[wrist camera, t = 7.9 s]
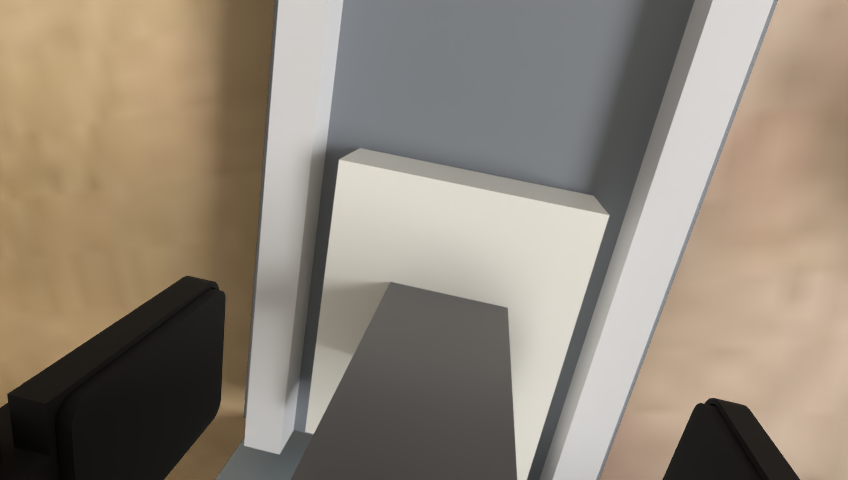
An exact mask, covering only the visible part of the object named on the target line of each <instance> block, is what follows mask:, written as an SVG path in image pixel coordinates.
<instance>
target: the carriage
mask: <svg viewBox="0 0 848 480" xmlns="http://www.w3.org/2000/svg"><path fill="white" fill-rule="evenodd" d="M609 216H610V215H609V214H608V213H607V212H606V210H605V209H604V208H603V207H602V205H601V204H600V203H599V202H598V200H597V199H596V198H595V197H594V196H593V195H588V194H583V193H578V192H573V191H568V190H563V189H559V188H554V187H549V186H544V185H539V184H534V183H529V182H524V181H519V180H514V179H510V178H505V177H500V176H495V175H490V174H485V173H480V172H475V171H470V170H465V169H461V168H456V167H451V166H446V165H441V164H436V163H431V162H426V161H421V160H417V159H412V158H407V157H402V156H397V155H392V154H387V153H382V152H377V151H372V150H368V149H363V148H359V149H357V150H356V151H354V152H352V153H350V154H348V155H346V156H345V157H343V158H341V159H339V164H338V172H337V180H336V188H335V196H334V204H333V212H332V220H331V228H330V236H329V244H328V252H327V260H326V268H325V276H324V284H323V292H322V300H321V308H320V316H319V324H318V332H317V340H316V348H315V356H314V364H313V372H312V380H311V388H310V396H309V404H308V412H307V420H306V428H305V432H307V433H311V434H313V436H312V438H311V440H310V442H309V444H308V446H307V448H306V450H305V452H304V454H303V456H302V458H301V460H300V462H299V464H298V466H297V468H296V470H295V472H294V474H293V476H292V478H291V480H527V477H528V474H529V471H530V468H531V465H532V461H533V458H534V455H535V452H536V449H537V445H538V442H539V439H540V436H541V433H542V429H543V426H544V423H545V420H546V417H547V414H548V410H549V407H550V404H551V401H552V398H553V394H554V391H555V388H556V385H557V382H558V378H559V375H560V372H561V369H562V366H563V362H564V359H565V356H566V353H567V350H568V346H569V343H570V340H571V337H572V334H573V330H574V327H575V324H576V321H577V318H578V315H579V311H580V308H581V305H582V302H583V299H584V295H585V292H586V289H587V286H588V283H589V279H590V276H591V273H592V270H593V267H594V263H595V260H596V257H597V254H598V251H599V247H600V244H601V241H602V238H603V235H604V232H605V228H606V225H607V222H608V219H609Z"/></svg>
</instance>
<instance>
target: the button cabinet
mask: <svg viewBox="0 0 848 480" xmlns="http://www.w3.org/2000/svg"><path fill="white" fill-rule="evenodd" d="M312 436H313V435H312V434H308V433H304V432H300V431H296V430H293V432H292V434H291V435H290V437H289V439H288V441H287V443H286V444H285V446H284V448H283V450H282V451H281V453H280V455H279V454H275V453H271V452H267V451H263V450H259V449H255V448H251V447H247V446H244V440H245V437H244V439H243V440H242V441H241V443H240V444H239V446H238V447H237V449H236V450H235V452H234V453H233V455H232V456H231V457H230V459H229V460H228V462H227V463H226V465H225V466H224V468H223V469H222V470H221V472H220V473H219V475H218V476H217V478H216V479H215V480H291V478H292V476H293V474H294V472H295V470H296V468H297V466H298V464H299V462H300V460H301V458H302V456H303V454H304V452H305V450H306V448H307V446H308V444H309V442H310V440H311V438H312Z"/></svg>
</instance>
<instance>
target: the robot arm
mask: <svg viewBox="0 0 848 480" xmlns="http://www.w3.org/2000/svg"><path fill="white" fill-rule="evenodd" d="M224 320H225V293H224V292H223V291H220V290H219V287H218V284H217V283H216V282H213V281H208V280H204V279H200V278H196V277H191V276H186V277H183V278H182V279H180V280H179V281H177V282H176V283H174V284H173V285H171V286H170V287H168V288H167V289H165V290H164V291H162V292H161V293H159V294H158V295H156V296H155V297H153V298H152V299H150V300H149V301H147V302H146V303H144V304H143V305H141V306H140V307H138V308H137V309H135V310H134V311H132V312H131V313H129V314H128V315H126V316H125V317H123V318H122V319H120V320H119V321H117V322H115V323H114V324H112V325H111V326H109V327H108V328H106V329H105V330H103V331H102V332H100V333H99V334H97V335H96V336H94V337H93V338H91V339H90V340H88V341H87V342H85V343H84V344H82V345H81V346H79V347H78V348H76V349H75V350H73V351H72V352H70V353H69V354H67V355H66V356H64V357H63V358H61V359H60V360H58V361H57V362H55V363H54V364H52V365H51V366H49V367H48V368H46V369H45V370H43V371H42V372H40V373H39V374H37V375H36V376H34V377H32V378H31V379H29V380H28V381H26V382H25V383H23V384H22V385H20V386H19V387H17V388H16V389H14V390H13V391H11V392H10V393H8V394H7V395H8V403H7V404H5V405H4V406H2V407H1V408H0V480H164V479H165V478H166V476H167V475H168V474H169V473H170V472H171V470H172V469H173V468H174V467H175V465H176V464H177V463H178V462H179V461H180V459H181V458H182V457H183V456H184V454H185V453H186V452H187V451H188V450H189V448H190V447H191V446H192V445H193V444H194V442H195V441H196V440H197V439H198V437H199V436H200V435H201V434H202V433H203V431H204V430H205V429H206V428H207V426H208V425H209V424H210V423H211V422H212V420H213V419H214V417H215V416H216V414H217V412H218V409H219V406H220V401H221V384H222V363H223V342H224ZM663 480H800V479H799V478H798V476H797V475H796V473H795V472H794V471H793V469H792V468H791V466H790V465H789V464H788V462H787V461H786V459H785V458H784V457H783V455H782V454H781V453H780V451H779V450H778V448H777V447H776V446H775V444H774V443H773V441H772V440H771V439H770V437H769V436H768V434H767V433H766V432H765V430H764V429H763V427H762V426H761V425H760V423H759V422H758V421H757V419H756V418H755V416H754V415H753V414H752V412H751V411H750V409H749V408H747V407H746V406H745V405H741V404H737V403H733V402H728V401H724V400H720V399H716V398H710V399H708V400H707V401H706V402H705V404H703V403H699V404H697V405H696V406H695V408H694V410H693V412H692V414H691V416H690V419H689V421H688V423H687V425H686V428H685V430H684V432H683V435H682V437H681V439H680V441H679V444H678V446H677V448H676V450H675V453H674V455H673V457H672V460H671V462H670V464H669V466H668V469H667V471H666V473H665V476H664V478H663Z"/></svg>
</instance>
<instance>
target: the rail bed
mask: <svg viewBox="0 0 848 480" xmlns="http://www.w3.org/2000/svg"><path fill="white" fill-rule="evenodd" d="M777 1H778V0H275V8H274V21H273V35H272V48H271V61H270V74H269V88H268V101H267V114H266V128H265V141H264V154H263V167H262V181H261V194H260V207H259V221H258V234H257V247H256V260H255V274H254V287H253V300H252V313H251V327H250V340H249V353H248V367H247V380H246V393H245V406H244V418H246V427H245V440H244V446H247V447H251V448H255V449H259V450H263V451H267V452H271V453H275V454H279V455H280V453H281V451H282V450H283V448H284V446H285V444H286V443H287V441H288V439H289V437H290V435H291V434H292V432H293V430H296V431H300V432H304V433H307V432H305V428H306V420H307V412H308V404H309V396H310V388H311V380H312V372H313V364H314V356H315V348H316V340H317V332H318V324H319V316H320V308H321V300H322V292H323V284H324V276H325V268H326V260H327V252H328V244H329V236H330V228H331V220H332V212H333V204H334V196H335V188H336V180H337V172H338V164H339V159H341V158H343V157H345V156H346V155H348V154H350V153H352V152H354V151H356V150H357V149H359V148H363V149H368V150H372V151H377V152H382V153H387V154H392V155H397V156H402V157H407V158H412V159H417V160H421V161H426V162H431V163H436V164H441V165H446V166H451V167H456V168H461V169H465V170H470V171H475V172H480V173H485V174H490V175H495V176H500V177H505V178H510V179H514V180H519V181H524V182H529V183H534V184H539V185H544V186H549V187H554V188H559V189H563V190H568V191H573V192H578V193H583V194H588V195H593V196H594V197H595V198H596V199H597V200H598V202H599V203H600V204H601V205H602V207H603V208H604V209H605V210H606V212H607V213H608V214H609V215H610V216H609V219H608V222H607V225H606V228H605V232H604V235H603V238H602V241H601V244H600V247H599V251H598V254H597V257H596V260H595V263H594V267H593V270H592V273H591V276H590V279H589V283H588V286H587V289H586V292H585V295H584V299H583V302H582V305H581V308H580V311H579V315H578V318H577V321H576V324H575V327H574V330H573V334H572V337H571V340H570V343H569V346H568V350H567V353H566V356H565V359H564V362H563V366H562V369H561V372H560V375H559V378H558V382H557V385H556V388H555V391H554V394H553V398H552V401H551V404H550V407H549V410H548V414H547V417H546V420H545V423H544V426H543V429H542V433H541V436H540V439H539V442H538V445H537V449H536V452H535V455H534V458H533V461H532V465H531V468H530V471H529V474H528V477H527V480H599V479H600V476H601V473H602V471H603V468H604V465H605V462H606V460H607V457H608V454H609V452H610V449H611V446H612V444H613V441H614V438H615V436H616V433H617V430H618V428H619V425H620V422H621V420H622V417H623V414H624V412H625V409H626V406H627V403H628V401H629V398H630V395H631V393H632V390H633V387H634V385H635V382H636V379H637V377H638V374H639V371H640V369H641V366H642V363H643V361H644V358H645V355H646V353H647V350H648V347H649V344H650V342H651V339H652V336H653V334H654V331H655V328H656V326H657V323H658V320H659V318H660V315H661V312H662V310H663V307H664V304H665V302H666V299H667V296H668V294H669V291H670V288H671V285H672V283H673V280H674V277H675V275H676V272H677V269H678V267H679V264H680V261H681V259H682V256H683V253H684V251H685V248H686V245H687V243H688V240H689V237H690V235H691V232H692V229H693V226H694V224H695V221H696V218H697V216H698V213H699V210H700V208H701V205H702V202H703V200H704V197H705V194H706V192H707V189H708V186H709V184H710V181H711V178H712V176H713V173H714V170H715V167H716V165H717V162H718V159H719V157H720V154H721V151H722V149H723V146H724V143H725V141H726V138H727V135H728V133H729V130H730V127H731V125H732V122H733V119H734V117H735V114H736V111H737V108H738V106H739V103H740V100H741V98H742V95H743V92H744V90H745V87H746V84H747V82H748V79H749V76H750V74H751V71H752V68H753V66H754V63H755V60H756V58H757V55H758V52H759V49H760V47H761V44H762V41H763V39H764V36H765V33H766V31H767V28H768V25H769V23H770V20H771V17H772V15H773V12H774V9H775V7H776V4H777ZM308 434H311V433H308ZM312 435H313V434H312Z"/></svg>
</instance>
